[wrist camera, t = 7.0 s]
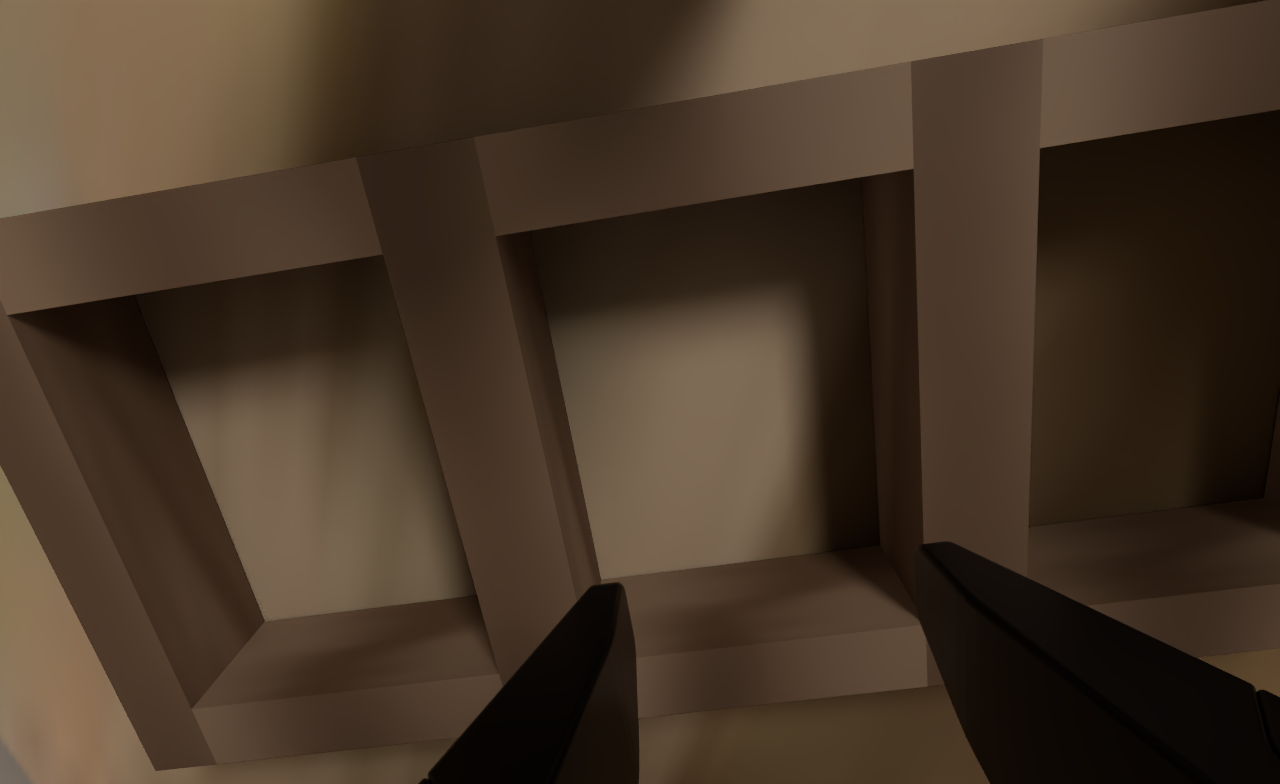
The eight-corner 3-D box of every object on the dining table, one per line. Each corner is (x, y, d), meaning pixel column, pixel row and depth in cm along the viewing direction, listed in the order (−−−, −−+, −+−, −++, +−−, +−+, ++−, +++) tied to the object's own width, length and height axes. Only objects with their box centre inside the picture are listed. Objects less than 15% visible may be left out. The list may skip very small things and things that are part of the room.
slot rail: (1425, -17, 13) (1647, -65, 10) (1319, 548, 17) (1456, 628, 14) (33, 222, 15) (-114, 238, 12) (232, 677, 19) (155, 770, 16)
